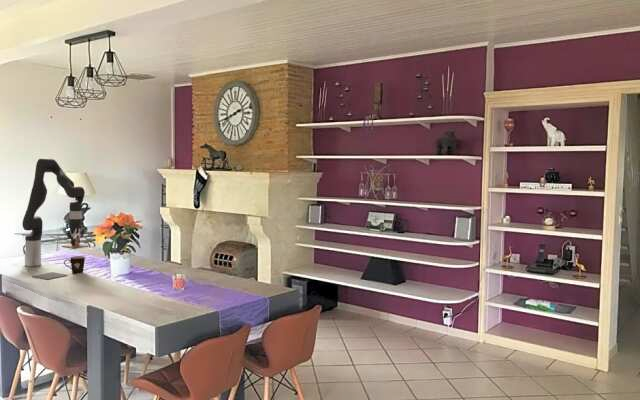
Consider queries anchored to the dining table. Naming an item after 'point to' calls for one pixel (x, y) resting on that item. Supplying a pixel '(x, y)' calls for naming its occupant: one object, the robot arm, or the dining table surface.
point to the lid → (75, 245)
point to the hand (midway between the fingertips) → (75, 244)
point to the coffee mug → (76, 264)
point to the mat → (49, 275)
